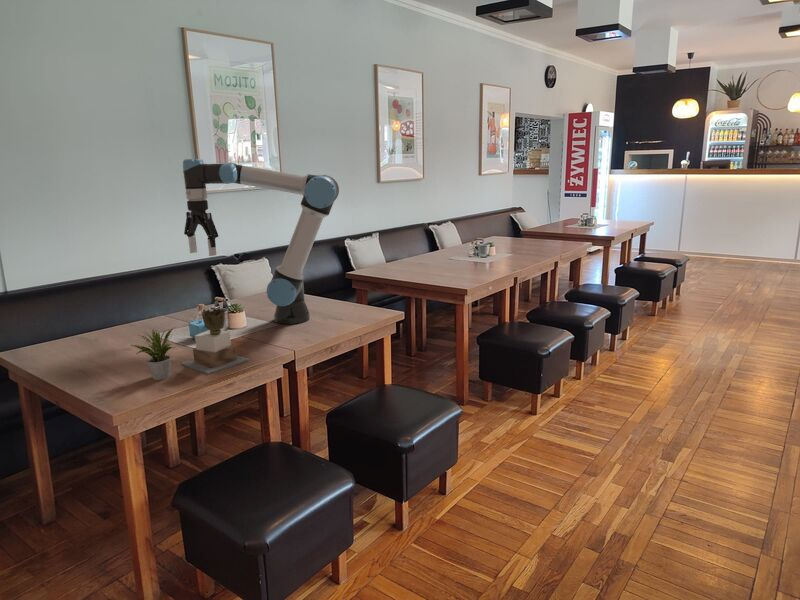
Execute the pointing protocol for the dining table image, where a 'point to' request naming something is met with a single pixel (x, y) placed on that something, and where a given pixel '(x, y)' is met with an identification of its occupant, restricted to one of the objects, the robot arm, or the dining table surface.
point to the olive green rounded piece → (214, 320)
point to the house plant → (157, 355)
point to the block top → (212, 341)
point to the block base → (215, 357)
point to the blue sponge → (196, 327)
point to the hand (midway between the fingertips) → (203, 254)
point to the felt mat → (212, 370)
